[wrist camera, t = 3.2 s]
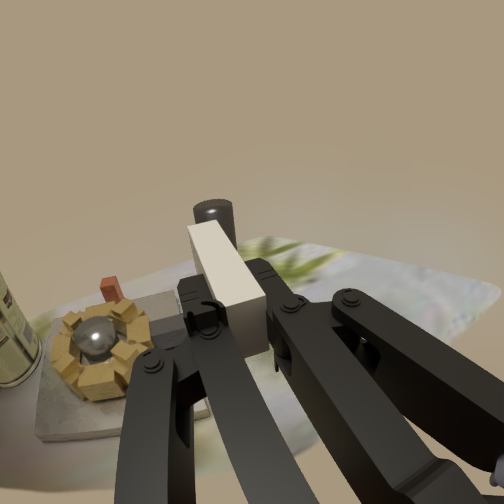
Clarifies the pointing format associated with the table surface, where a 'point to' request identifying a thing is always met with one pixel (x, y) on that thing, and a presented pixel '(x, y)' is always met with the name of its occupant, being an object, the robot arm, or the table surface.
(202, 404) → the flange plate
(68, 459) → the table surface
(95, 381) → the tan ring with handle
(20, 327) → the coffee can
